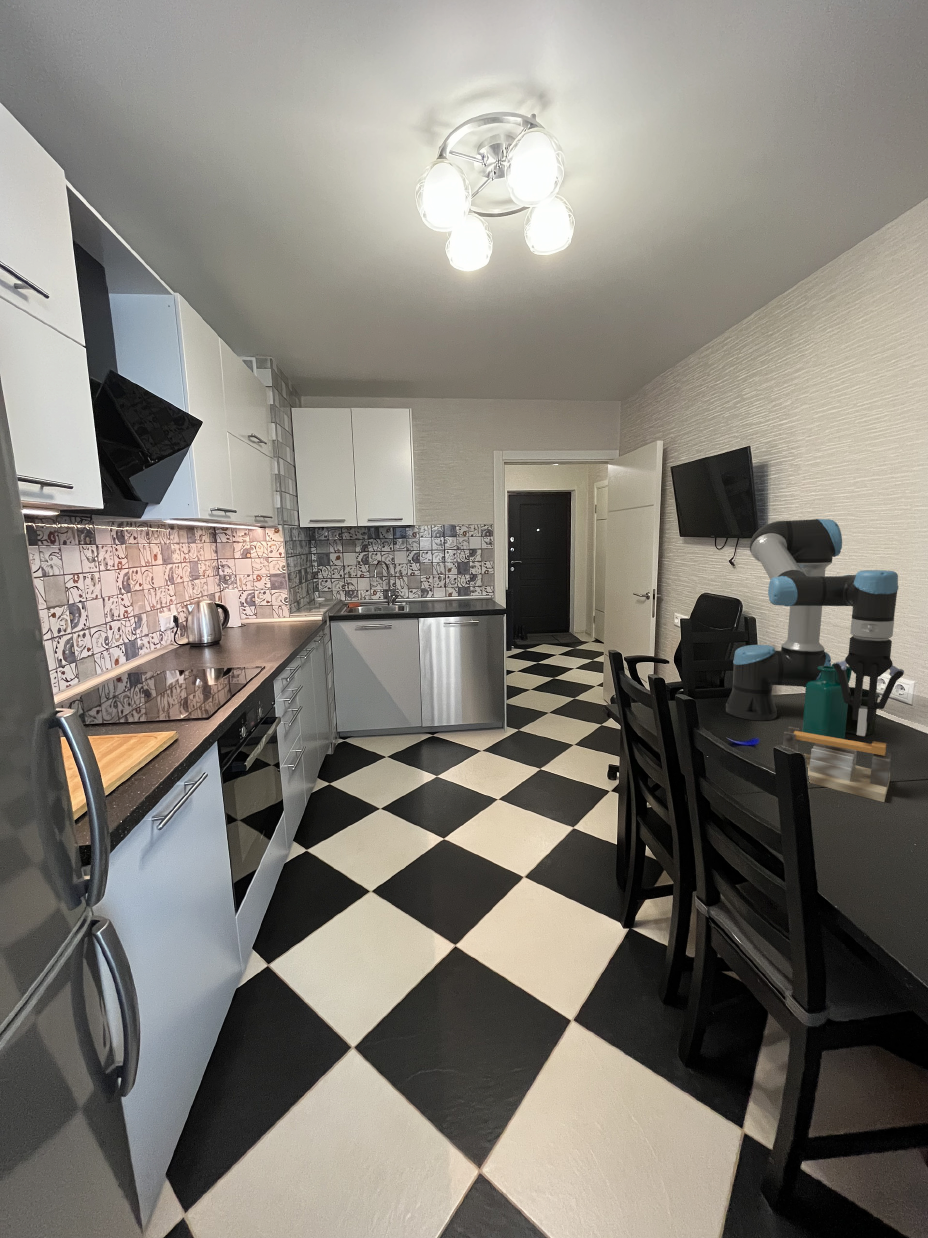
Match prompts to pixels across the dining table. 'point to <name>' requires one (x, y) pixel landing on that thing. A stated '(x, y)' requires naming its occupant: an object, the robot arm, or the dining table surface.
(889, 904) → the dining table surface
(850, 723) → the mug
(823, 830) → the dining table surface
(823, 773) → the clear acrylic stand
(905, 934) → the dining table surface
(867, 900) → the dining table surface
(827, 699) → the pitcher
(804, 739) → the wooden stick
